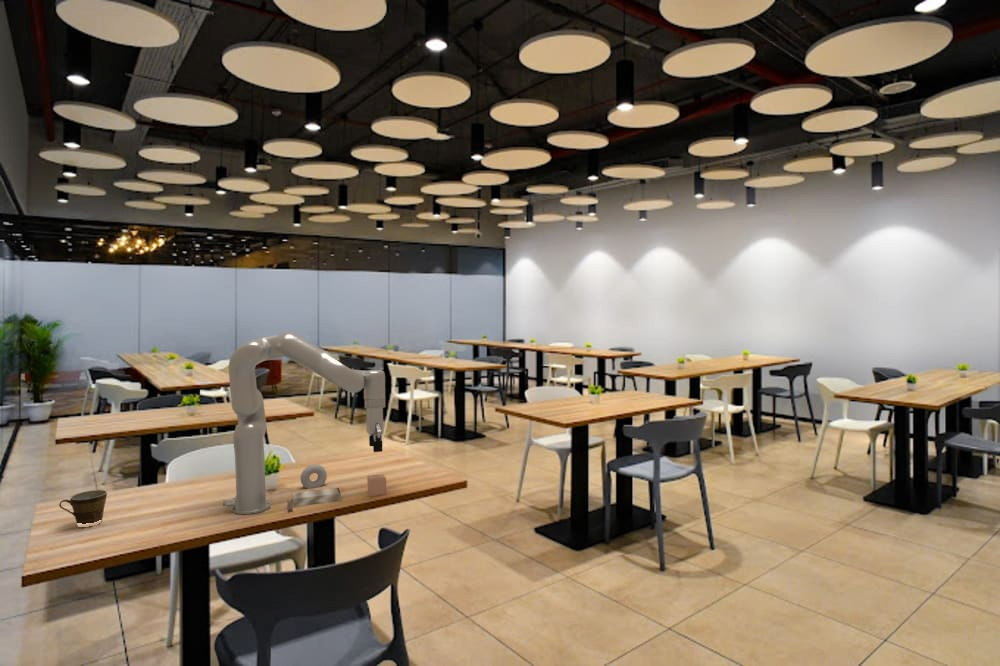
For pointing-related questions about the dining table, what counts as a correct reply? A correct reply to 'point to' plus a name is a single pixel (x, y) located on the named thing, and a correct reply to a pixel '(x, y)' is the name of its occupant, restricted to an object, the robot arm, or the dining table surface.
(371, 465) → the dining table surface
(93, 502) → the ceramic cup
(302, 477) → the donut
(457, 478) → the dining table surface
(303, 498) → the board
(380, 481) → the taped shipping carton
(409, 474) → the dining table surface
